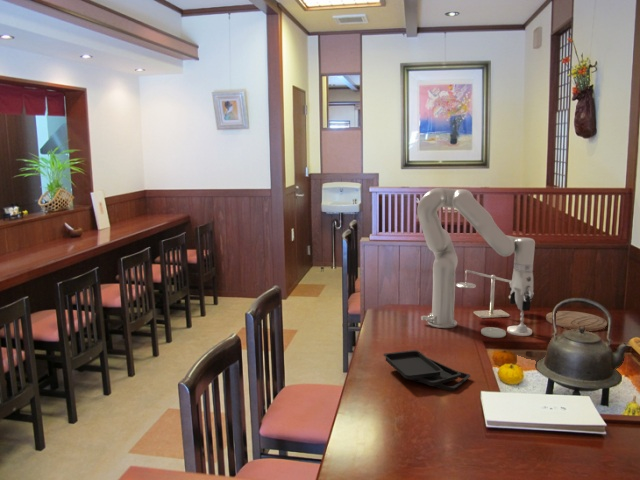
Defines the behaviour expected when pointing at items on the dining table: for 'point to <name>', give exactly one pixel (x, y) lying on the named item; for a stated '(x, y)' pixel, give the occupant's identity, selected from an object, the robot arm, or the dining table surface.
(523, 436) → the dining table surface
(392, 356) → the tray
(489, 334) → the dish left
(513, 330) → the dish right
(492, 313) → the balance
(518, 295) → the chalice
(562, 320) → the trivet
